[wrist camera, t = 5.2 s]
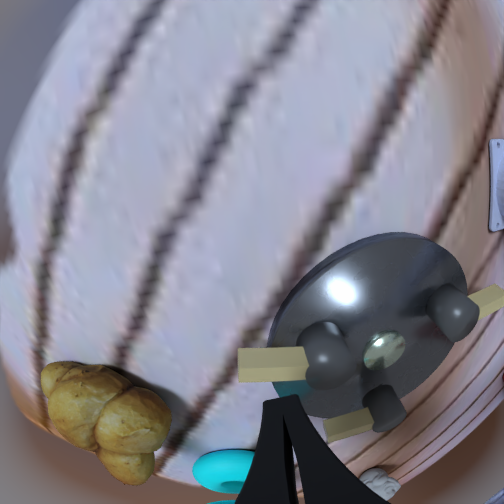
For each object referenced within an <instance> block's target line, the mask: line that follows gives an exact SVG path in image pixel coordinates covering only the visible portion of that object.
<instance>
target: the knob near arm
mask: <svg viewBox="0 0 504 504" xmlns="http://www.w3.org/2000/svg"><path fill="white" fill-rule="evenodd" d="M502 307H504V290H503V289H502V288H500V287H499V286H498V285H496V284H493V285H491V286H489V287H486V288H484V289H482V290H480V291H478V292H476V293H473V294H471V295H469V296H466V295H465V294H464V293H463V292H461V291H460V290H459V289H458V288H456V287H455V286H454V285H453V284H450V283H447V284H444V285H442V286H440V287H439V288H437V289H436V290H435V291H434V293H433V294H432V295H431V297H430V299H429V301H428V304H427V308H426V312H427V315H428V317H429V318H430V319H431V320H432V321H433V322H434V323H435V324H436V325H437V326H438V328H439V329H440V330H441V331H442V332H443V333H444V334H445V335H446V336H447V337H448V339H449V340H450V341H452V342H458V341H460V340H462V339H463V338H465V337H466V336H467V335H468V334H469V333H470V332H471V331H472V330H473V328H474V327H475V325H476V323H477V321H478V320H480V319H482V318H484V317H486V316H487V315H489V314H491V313H493V312H495V311H497V310H498V309H500V308H502Z"/></svg>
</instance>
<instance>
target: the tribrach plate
mask: <svg viewBox="0 0 504 504" xmlns="http://www.w3.org/2000/svg"><path fill="white" fill-rule="evenodd" d="M447 283H450V284H453V285H454V286H455V287H456V288H458V289H459V290H460V291H461V292H463V293H464V294H465V295H466V296H468V293H467V283H466V279H465V275H464V273H463V270H462V268H461V266H460V264H459V263H458V261H457V260H456V258H455V257H454V256H453V255H452V254H451V253H450V252H449V251H447V250H446V249H444V248H443V247H441V246H439V245H438V244H436V243H435V242H433V241H431V240H430V239H428V238H426V237H423V236H420V235H417V234H412V233H406V232H390V233H383V234H377V235H373V236H370V237H367V238H363V239H360V240H358V241H356V242H354V243H351V244H349V245H347V246H345V247H343V248H341V249H340V250H338V251H336V252H334V253H333V254H331V255H330V256H328V257H327V258H325V259H324V260H323V261H321V262H320V263H319V264H317V265H316V266H315V267H314V268H313V269H312V270H310V271H309V272H308V273H307V274H306V275H305V276H304V277H303V278H302V279H301V280H300V281H299V282H298V284H297V285H296V286H295V287H294V288H293V289H292V290H291V292H290V293H289V295H288V296H287V297H286V299H285V300H284V302H283V303H282V305H281V307H280V309H279V311H278V312H277V314H276V316H275V318H274V321H273V324H272V326H271V329H270V333H269V338H268V343H267V348H278V347H296V341H297V338H298V336H299V334H300V333H301V332H302V331H303V330H304V329H305V328H307V327H308V326H310V325H312V324H315V323H318V322H330V323H333V324H335V325H336V326H337V327H338V328H339V329H340V331H341V333H342V335H343V337H344V339H345V341H346V343H347V344H348V346H349V348H350V350H351V352H352V354H353V356H354V358H355V360H356V363H357V368H356V371H355V373H354V375H353V376H352V377H351V378H350V379H349V380H348V381H347V382H346V383H344V384H343V385H341V386H339V387H337V388H334V389H330V390H316V389H313V388H311V387H310V386H309V385H308V384H307V382H306V380H293V381H275V382H272V383H273V386H274V388H275V390H276V392H277V393H278V395H279V396H280V397H285V396H289V395H293V394H297V395H299V398H300V401H301V404H302V406H303V408H304V410H305V412H306V414H307V415H310V416H315V417H320V418H334V417H338V416H341V415H345V414H348V413H351V412H354V411H358V410H361V409H364V408H363V405H362V399H363V397H364V396H365V395H366V394H367V393H368V392H369V391H370V390H372V389H374V388H376V387H378V386H380V385H385V384H388V385H391V386H392V387H393V389H394V390H395V392H396V394H397V396H398V398H399V399H400V398H402V397H404V396H405V395H407V394H408V393H410V392H411V391H413V390H414V389H415V388H416V387H418V386H419V385H420V384H421V383H423V382H424V381H425V380H426V379H427V378H428V377H429V376H430V375H431V374H432V373H433V372H434V371H435V370H436V369H437V368H438V366H439V365H440V364H441V363H442V361H443V360H444V359H445V357H446V356H447V355H448V353H449V351H450V350H451V348H452V347H453V345H454V343H455V342H452V341H450V340H449V339H448V337H447V336H446V335H445V334H444V333H443V332H442V331H441V330H440V329H439V328H438V326H437V325H436V324H435V323H434V322H433V321H432V320H431V319H430V318H429V317H428V315H427V312H426V308H427V304H428V301H429V299H430V297H431V295H432V294H433V293H434V291H435V290H436V289H437V288H439V287H440V286H442V285H444V284H447Z"/></svg>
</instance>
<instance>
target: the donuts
mask: <svg viewBox="0 0 504 504" xmlns="http://www.w3.org/2000/svg"><path fill="white" fill-rule="evenodd" d="M254 453H255V452H253V451H246V450H222V451H216V452H212V453H208V454H206V455H204V456H202V457H200V458H199V459H198V460H197V461H196V462H195V463H194V465H193V470H192V472H193V475H194V478H195V479H196V480H197V481H198V483H200V484H201V485H202V486H204V487H206V488H208V489H210V490H213V491H217V492H221V493H231V494H237V493H240V491H241V489H242V487H243V484H244V482H245V480H246V477H247V475H248V472H249V469H250V466H251V463H252V460H253V457H254ZM235 501H236V500H226V501H217V502H211V503H208V504H234V503H235Z"/></svg>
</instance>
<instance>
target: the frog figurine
mask: <svg viewBox="0 0 504 504" xmlns="http://www.w3.org/2000/svg"><path fill="white" fill-rule="evenodd" d="M359 480H361V481H362V482H363V483H364V484H365V485H367V486H368V487H369V488H370V489H371V490H373V491H374V492H375V493H377V494H378V495H379V496H381V497H382V498H383V499H385V500H388V499H390V498H391V497H392V496H394V494H395V492H397V490H398V489H399V487H400V486H401V485H400V484H399V482H398V481H397V480H395V479H394V478H392V477H388V474H387V473H386V471H384V470H383V469H380V468H372V469H369V470H367V471H366V472H364V473H363V474H362V475H361V477H360V479H359Z"/></svg>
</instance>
